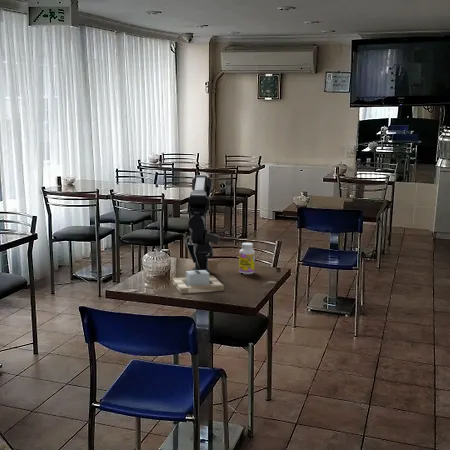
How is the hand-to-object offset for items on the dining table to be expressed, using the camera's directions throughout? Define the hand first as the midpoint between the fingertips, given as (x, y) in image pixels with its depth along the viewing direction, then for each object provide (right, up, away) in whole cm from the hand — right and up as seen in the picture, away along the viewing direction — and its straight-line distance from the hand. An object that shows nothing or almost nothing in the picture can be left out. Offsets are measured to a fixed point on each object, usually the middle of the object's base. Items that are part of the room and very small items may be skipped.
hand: (197, 265), depth 238 cm
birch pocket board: (0, -9, +2) cm, 9 cm away
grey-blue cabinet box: (0, -9, +2) cm, 9 cm away
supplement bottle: (+20, -5, +24) cm, 32 cm away
